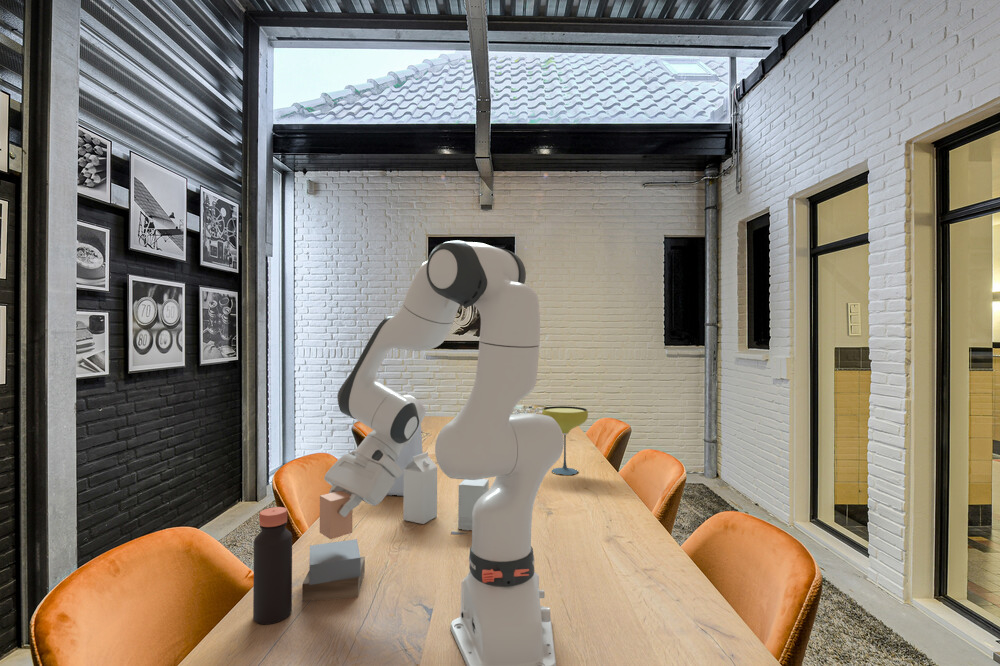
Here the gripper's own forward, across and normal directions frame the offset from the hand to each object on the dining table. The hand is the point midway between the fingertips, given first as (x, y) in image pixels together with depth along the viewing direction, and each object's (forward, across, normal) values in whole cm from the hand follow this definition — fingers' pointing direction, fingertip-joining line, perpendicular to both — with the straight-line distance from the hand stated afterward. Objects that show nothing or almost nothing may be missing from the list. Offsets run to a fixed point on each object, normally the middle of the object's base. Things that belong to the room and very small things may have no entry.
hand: (333, 510), depth 106 cm
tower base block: (+12, 0, +12) cm, 17 cm away
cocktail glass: (-65, -20, +88) cm, 111 cm away
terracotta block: (+3, 0, +4) cm, 5 cm away
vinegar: (+21, +2, +2) cm, 21 cm away
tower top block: (+9, 0, +9) cm, 13 cm away
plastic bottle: (-22, -47, +46) cm, 69 cm away
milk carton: (-14, -19, +38) cm, 45 cm away
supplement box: (-20, -4, +43) cm, 47 cm away
